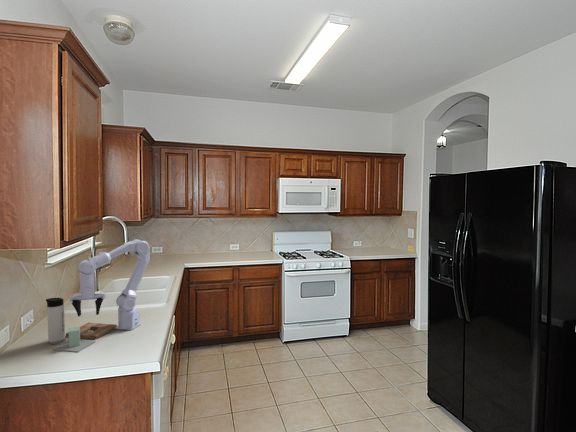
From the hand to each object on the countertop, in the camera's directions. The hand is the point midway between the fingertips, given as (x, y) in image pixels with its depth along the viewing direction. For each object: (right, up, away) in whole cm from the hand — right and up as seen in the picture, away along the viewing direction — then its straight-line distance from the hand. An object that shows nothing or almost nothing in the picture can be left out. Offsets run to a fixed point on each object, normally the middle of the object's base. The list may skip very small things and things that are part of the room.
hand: (88, 314), depth 160 cm
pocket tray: (-2, -10, +5) cm, 11 cm away
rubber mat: (0, -11, -10) cm, 15 cm away
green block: (0, -10, -10) cm, 14 cm away
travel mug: (-12, -11, -5) cm, 17 cm away
